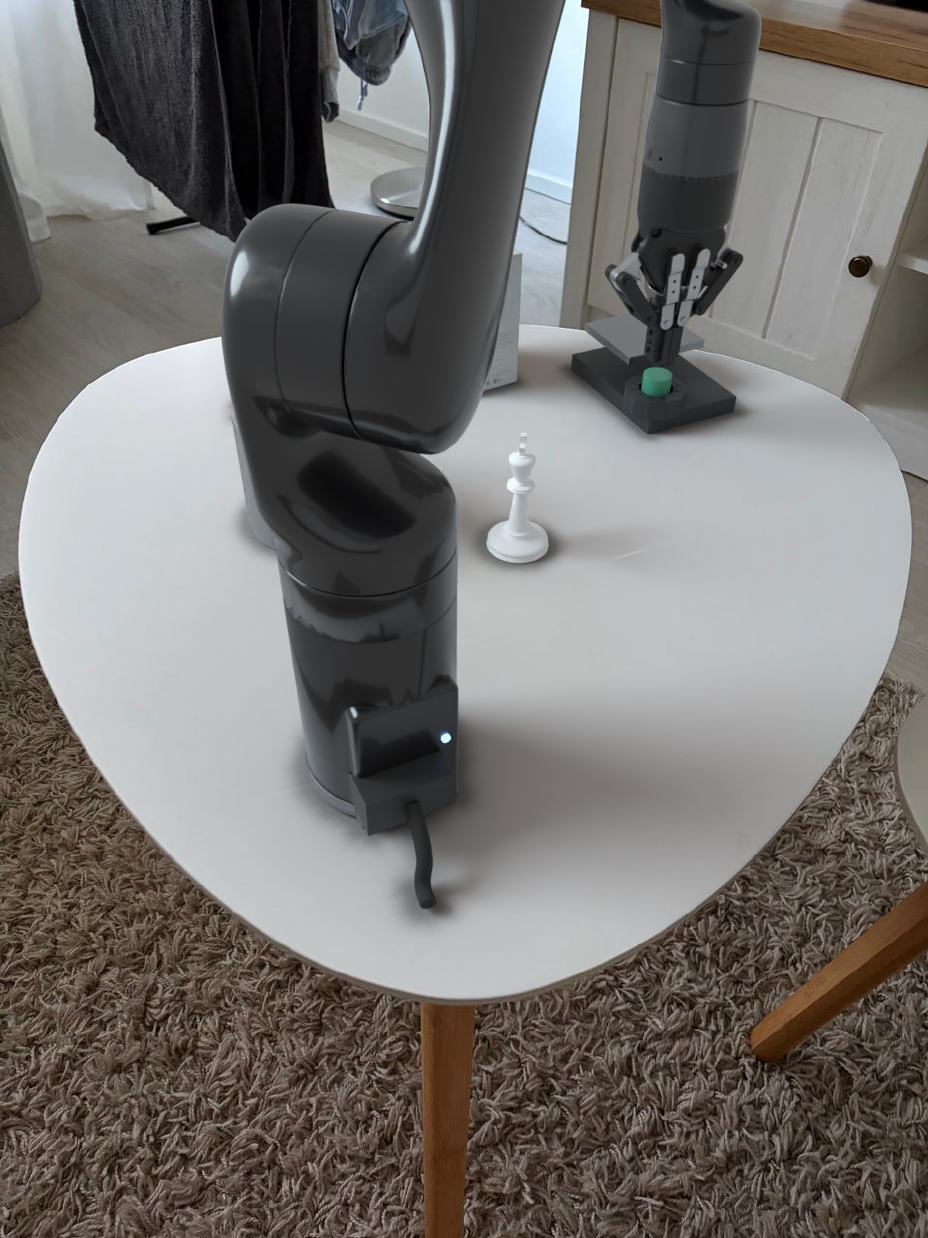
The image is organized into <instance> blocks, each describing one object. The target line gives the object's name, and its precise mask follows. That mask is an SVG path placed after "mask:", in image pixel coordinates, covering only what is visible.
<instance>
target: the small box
mask: <svg viewBox="0 0 928 1238" xmlns="http://www.w3.org/2000/svg"><path fill="white" fill-rule="evenodd" d="M522 267H523V253H522V252H521V251H519V250H518V249H516V248H514V252H513V258H512V264H511V269H510V275H509V281H508V286H507V292H506V298H505V303H504V308H503V313H502V318H501V324H500V329H499V334H498V339H497V344H496V349H495V353H494V357H493V361H492V365H491V369H490V372H489V375H488V379H487V382H486V385H485V389H484V392H485V391H488V390H492V389H496V388H499V387H503V386H507V385H510V384H513V383H515V382H517V381H518V365H519V341H520V339H519V337H520V320H521V319H520V317H521V316H520V315H521V295H522V272H523V271H522Z"/></svg>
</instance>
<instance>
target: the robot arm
mask: <svg viewBox="0 0 928 1238" xmlns="http://www.w3.org/2000/svg"><path fill="white" fill-rule="evenodd" d="M659 2H660V15H661V39H660V48H659V49H660V50H659V54H658V62H657V63H658V64H657V70H656V71H657V72H656V79H655V86H654V90H655V91H654V93H653V100H652V104H651V108H650V112H649V116H648V120H647V126H646V133H645V140H644V148H643V149H644V150H643V157H642V166H641V173H640V181H639V189H638V195H637V196H638V198H637V205H636V215H637V221H638V228H637V232H636V233H635V236H634V238H633V240H632V241H631V245H630V254H629V255H628V256H627V257H626V258H625V259H624V260H622V261H621V262H620V264H619V265H616V264H615V263H612V264H608V265H607V266H606V267H605V269H604V275H605V276H604V277H605V278H606V279H607V281H608V283H609V284H610V285H611V287H612V289H613V290H614V291H615V293H616V295H617V296H618V298H619V299H620V300H621V302H622V304H623V306H624V307H625V308H626V310H627V312H628V314H631V315H632V316H634V317H635V318H636V319H638V320H639V321H641V322H642V323H643V324H645V325H646V326H647V333H646V341H645V347H644V353H645V356H646V357H647V358H648V360H649V361H650V362H651V363H652V364H654V365H655V366H656V367H658V368H659V367H664V366H668V365H672V364H674V361H675V357H677V355H678V354H680V353H679V351H680V345H681V339H682V333H683V327H684V326H685V325H687V324H688V323H689V321H690V318H693V316H695V315H696V316H697V317H698V316H699V317H701V316H703V315H705V313H706V312H707V311H708V310H709V308H710V307H711V305H713V303H714V302H715V300H716V298H717V297H719V295H720V293H721V292H722V290H723V289H724V288H725V287H726V286H727V284H728V283H729V281H730V280H731V278H732V277H733V276H734V275H735V274H736V272H737V271H738V269H739V268H740V266H741V265H742V264H743V262H744V255H743V254H742V253H741V252H738V251H737V250H736V249H734V248H732V247H731V246H730V245H728V244H727V242H726V239H727V233H726V230H725V226H727V224H729V222H730V220H731V217H732V212H733V206H734V202H735V197H736V196H735V195H736V191H737V190H736V189H737V185H738V180H739V175H740V169H741V164H742V159H743V153H744V148H745V143H746V137H747V136H746V135H747V130H748V117H749V116H748V113H749V103H750V96H751V91H752V90H751V89H752V86H753V85H752V84H753V79H754V74H755V68H756V64H757V58H758V52H759V49H760V48H759V47H760V42H761V37H762V25H763V23H762V17H761V14H760V13H759V10H757V9H756V8H755V7H753V6H751V5H750V4H748V3H747V2H744V1H742V0H659ZM402 3H403V4H404V7H405V10H406V13H407V16H408V19H409V22H410V25H411V27H412V28H411V29H412V31H413V35H414V38H415V41H416V44H417V48H418V51H419V55H420V60H421V64H422V68H423V69H422V70H423V74H424V78H425V84H426V89H427V94H428V103H429V104H428V106H429V133H428V150H427V159H426V166H425V173H424V180H423V185H422V190H421V195H420V199H419V203H418V208H417V211H416V213H415V215H414V218H413V219H412V221H411V220H410V221H408V220H404V219H398V218H393V217H387V216H381V215H375V214H368V213H363V212H357V211H350V210H346V209H345V210H344V209H339V208H334V207H326V206H320V205H313V204H306V203H305V204H304V203H297V202H295V203H281V204H277V205H274V206H273V205H272V206H270V207H268V208H265V209H263V210H262V211H260V212H259V213H257V214H256V215H255V216H254V217H253V218H252V219H251V220H250V221H249V222H248V223H247V224H246V225H245V226H244V228H243V229H242V230H241V232H240V234H239V235H238V237H237V238H236V241H235V243H234V245H233V247H232V250H231V252H230V254H229V257H228V261H227V264H226V269H225V273H224V278H223V284H222V290H221V298H220V299H221V301H220V340H221V347H222V356H223V363H224V370H225V376H226V381H227V386H228V391H229V397H230V401H231V406H232V409H233V410H234V414H235V418H236V422H237V427H238V431H239V435H240V439H241V444H242V448H243V452H244V457H245V461H246V466H247V470H248V474H249V479H250V484H251V488H252V493H253V497H254V501H255V505H256V508H257V510H258V513H259V515H260V517H261V519H262V521H263V522H264V524H265V525H266V527H267V528H268V529H269V531H270V532H271V533H272V535H273V536H274V541H275V547H276V550H275V553H276V560H277V566H278V572H279V579H280V586H281V593H282V602H283V608H284V615H285V622H286V628H287V635H288V641H289V648H290V649H289V650H290V655H291V660H292V669H293V675H294V681H295V688H296V695H297V701H298V708H299V714H300V721H301V727H302V732H303V739H304V745H305V763H306V769H307V774H308V779H309V781H310V784H311V785H312V787H313V789H314V791H315V792H316V793H317V795H318V796H319V797H320V798H321V799H322V800H323V801H324V802H325V803H327V804H328V805H329V806H331V807H332V808H334V809H336V810H337V811H339V812H342V813H344V814H346V815H348V816H352V817H354V818H356V820H357V821H358V823H359V825H360V827H361V828H362V829H363V830H365V832H366V835H367V836H368V837H371V836H373V835H376V834H378V833H381V832H384V831H386V830H389V829H393V828H394V827H397V826H399V825H402V824H405V823H407V824H408V827H409V832H410V834H411V838H412V842H413V847H414V855H415V869H414V875H413V883H414V892H415V895H416V899H417V901H418V904H419V906H420V908H421V909H422V910H428V909H431V908H433V907H435V906H436V905H437V898H436V896H435V893H434V891H433V888H432V887H433V886H432V874H433V868H434V855H433V847H432V843H431V838H430V837H431V836H430V834H429V830H428V827H427V823H426V820H425V817H424V816H425V815H429V814H430V813H434V812H436V811H439V810H441V809H444V808H447V807H449V806H452V805H454V804H456V796H457V795H459V706H460V705H459V704H460V703H459V701H460V700H459V695H460V691H459V689H460V688H459V686H458V583H459V582H458V581H459V580H458V578H459V576H458V575H459V574H458V573H459V572H458V571H459V566H458V565H459V541H458V540H459V511H458V509H459V508H458V501H457V497H456V493H455V491H454V488H453V486H452V485H451V483H450V481H449V480H448V478H447V477H446V476H445V474H444V473H443V472H442V471H441V470H440V468H438V466H436V465H435V464H434V463H432V461H430V460H429V459H427V458H426V457H424V456H423V455H427V456H428V455H429V456H433V455H438V454H441V453H444V452H446V451H447V450H449V449H450V448H452V447H453V446H454V445H456V443H458V442H459V441H460V439H461V438H462V437H463V436H464V434H465V432H466V431H467V429H468V427H469V426H470V424H471V422H472V421H473V418H474V417H475V415H476V412H477V410H478V408H479V405H480V403H481V400H482V398H483V394H484V392H485V391H484V389H485V385H486V382H487V379H488V375H489V372H490V369H491V365H492V361H493V357H494V353H495V349H496V344H497V339H498V334H499V329H500V324H501V318H502V313H503V308H504V303H505V298H506V292H507V286H508V281H509V275H510V269H511V264H512V258H513V252H514V249H515V245H516V241H517V234H518V229H519V222H520V219H521V218H520V217H521V211H522V207H523V206H522V205H523V200H524V193H525V188H526V182H527V178H528V177H527V176H528V171H529V164H530V160H531V154H532V149H533V143H534V139H535V138H534V137H535V132H536V128H537V122H538V118H539V113H540V108H541V103H542V99H543V94H544V91H545V86H546V82H547V77H548V74H549V69H550V68H549V67H550V65H551V60H552V57H553V56H552V55H553V51H554V47H555V43H556V39H557V36H558V32H559V28H560V24H561V20H562V16H563V13H564V10H565V6H566V3H567V0H402ZM640 272H641V274H642V276H643V277H644V284H643V285H644V287H643V290H644V293H645V294H644V293H643V291H642V290H641V288H640V287H639V286H641V285H642V280H641V274H640ZM703 290H704V291H703ZM701 292H702V294H701ZM700 294H701V295H700ZM645 295H646V296H645ZM699 295H700V296H699Z"/></svg>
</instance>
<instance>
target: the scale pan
mask: <svg viewBox="0 0 928 1238" xmlns="http://www.w3.org/2000/svg"><path fill="white" fill-rule="evenodd" d="M583 329H584V330H583V331H585V333H586V334H588V335H590V336H591V337H592V338H593V339H595V340H596V341H597V342H598V343H600V344H601V345H602V346H603V347H606V348H607V349H609V350H610V351H611V352H612V353H614V354H615V355H616V356H617V357H619V358H620V359H621V360H623V361H624V362H625V363H626V364H628V365H630V364H635V363H639V362H643V361H647V360H648V358H647V357H646V356H645V353H644V347H645V341H646V333H647V326H646V325H645V324H643V323H642V322H641V321H639V320H638V319H636V318H635V317H634V316H632V315H631V314H630V313H626V314H621V315H616V316H612V317H611V316H610V317H606V318H602V319H597V320H593V321H589V322H588V321H587V322H585V323H584V328H583ZM705 341H706V340H705V339H704V338H703V337H701V336H700V335H698V334H697V333H695V332H694V331H693V330H691V329H690V328H688V327H687V326H685V325H684V327H683V333H682V339H681V345H680V351H679V353H678V354H682V353H686V352H691V351H694V350H698V349H702V348H705V347H704V346H705Z"/></svg>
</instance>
